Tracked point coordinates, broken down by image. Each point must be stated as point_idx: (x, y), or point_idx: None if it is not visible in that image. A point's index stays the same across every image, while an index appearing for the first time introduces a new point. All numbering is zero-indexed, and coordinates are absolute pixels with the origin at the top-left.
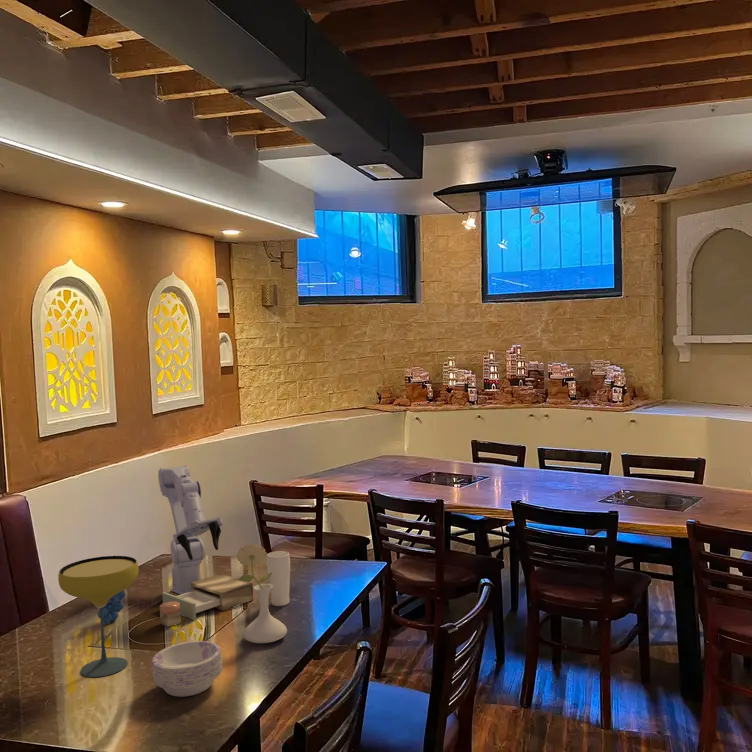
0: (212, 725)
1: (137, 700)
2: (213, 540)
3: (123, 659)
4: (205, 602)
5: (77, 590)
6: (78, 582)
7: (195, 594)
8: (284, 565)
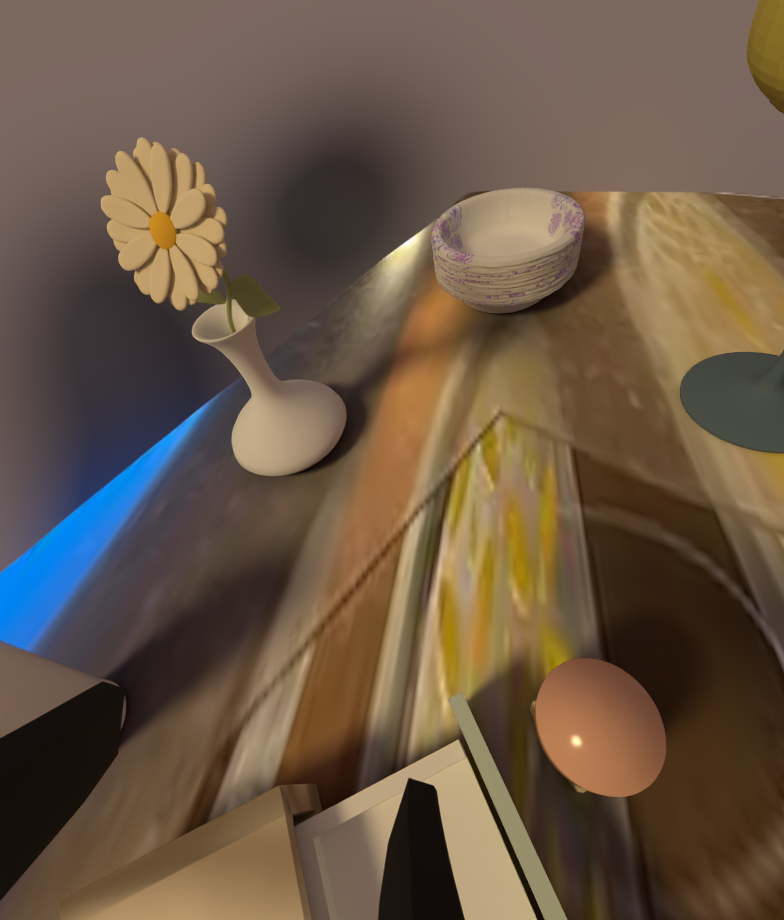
0: None
1: (604, 268)
2: (39, 739)
3: (706, 419)
4: (378, 883)
5: None
6: None
7: None
8: None
